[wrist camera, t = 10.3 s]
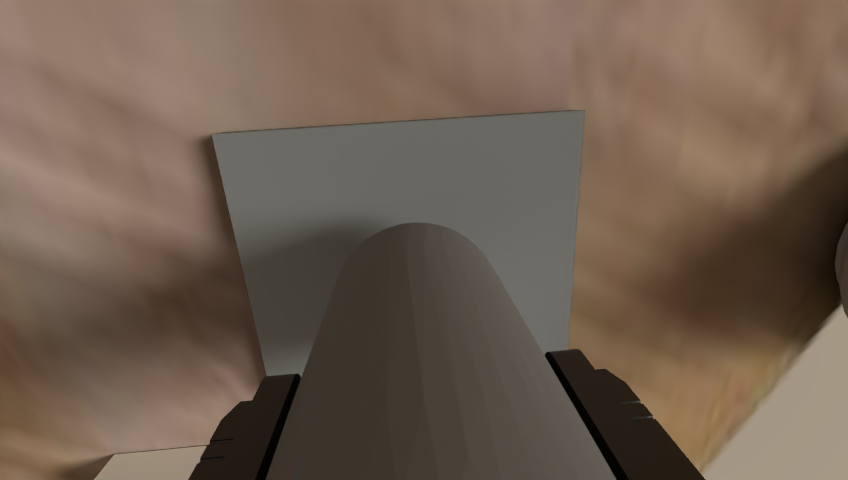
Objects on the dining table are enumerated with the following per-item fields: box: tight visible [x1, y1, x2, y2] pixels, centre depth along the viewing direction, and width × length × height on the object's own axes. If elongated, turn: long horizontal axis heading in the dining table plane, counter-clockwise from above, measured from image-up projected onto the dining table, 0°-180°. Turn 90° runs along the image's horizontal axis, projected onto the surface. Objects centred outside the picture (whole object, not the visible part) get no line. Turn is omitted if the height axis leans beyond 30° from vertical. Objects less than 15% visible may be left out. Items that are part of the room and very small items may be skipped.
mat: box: [212, 110, 585, 377], centre depth 17 cm, size 14×12×1 cm
